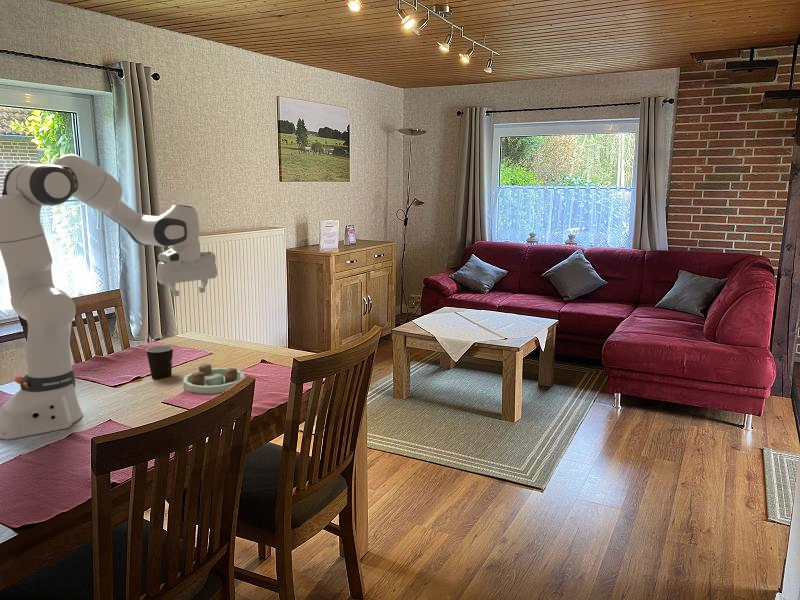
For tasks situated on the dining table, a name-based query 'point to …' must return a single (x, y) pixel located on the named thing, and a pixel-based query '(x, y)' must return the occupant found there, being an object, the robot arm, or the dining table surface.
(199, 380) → the bead
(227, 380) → the bead
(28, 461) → the dining table surface
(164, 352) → the coffee mug
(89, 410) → the dining table surface
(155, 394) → the dining table surface
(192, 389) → the tray
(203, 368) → the bead
